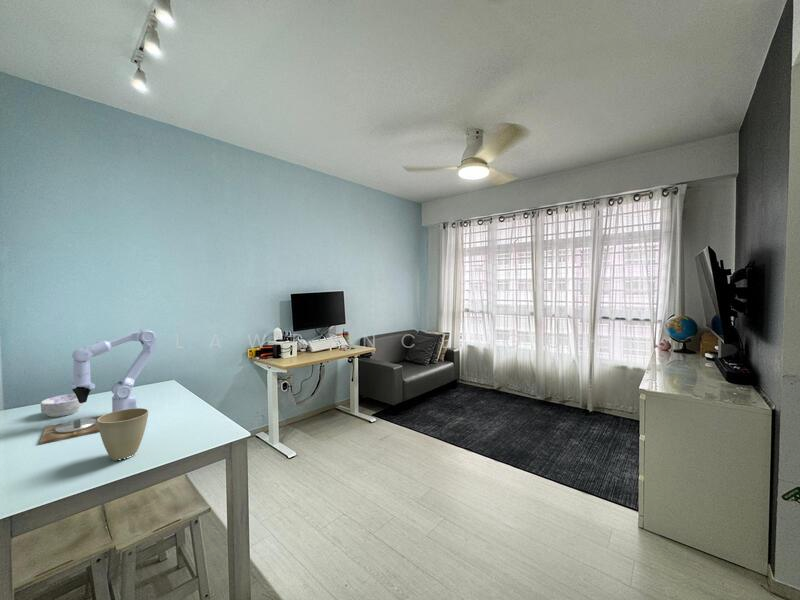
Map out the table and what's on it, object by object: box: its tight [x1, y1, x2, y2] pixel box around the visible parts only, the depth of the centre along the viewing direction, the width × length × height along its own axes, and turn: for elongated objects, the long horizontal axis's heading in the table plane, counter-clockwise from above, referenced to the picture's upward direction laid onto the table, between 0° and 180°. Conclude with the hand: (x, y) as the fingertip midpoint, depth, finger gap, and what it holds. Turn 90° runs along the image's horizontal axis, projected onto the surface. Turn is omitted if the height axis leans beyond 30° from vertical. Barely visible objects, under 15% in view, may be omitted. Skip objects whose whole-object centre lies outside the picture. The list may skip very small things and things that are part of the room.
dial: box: [55, 418, 96, 433], centre depth 146 cm, size 13×13×4 cm
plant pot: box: [97, 407, 149, 461], centre depth 124 cm, size 15×15×16 cm
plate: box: [39, 415, 102, 446], centre depth 146 cm, size 20×20×1 cm
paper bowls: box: [40, 393, 85, 418], centre depth 165 cm, size 15×15×8 cm
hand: (82, 402), depth 153 cm, fingers closed
